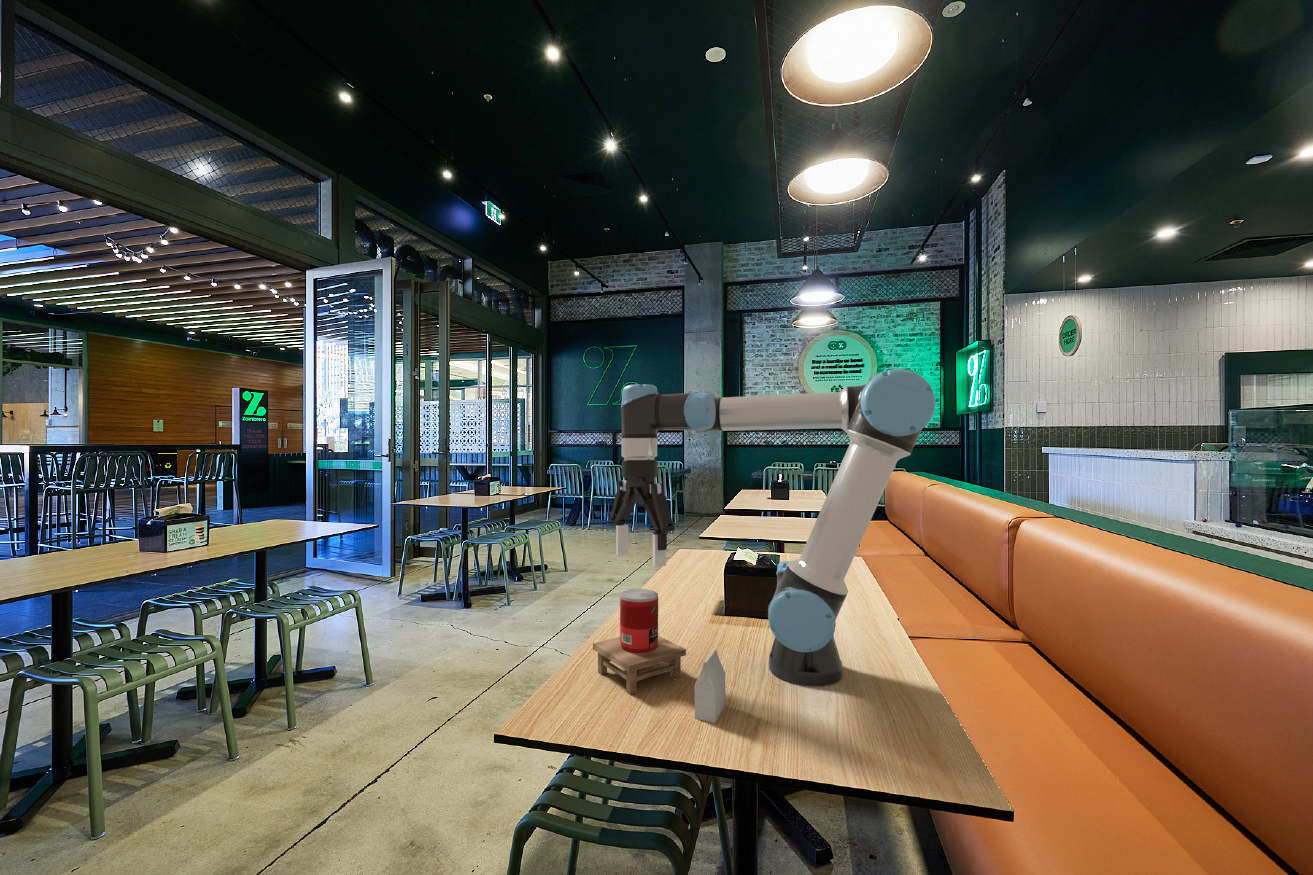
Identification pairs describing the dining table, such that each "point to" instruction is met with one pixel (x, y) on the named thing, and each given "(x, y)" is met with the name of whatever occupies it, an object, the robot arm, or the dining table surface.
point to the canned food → (639, 620)
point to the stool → (638, 660)
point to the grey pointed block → (710, 690)
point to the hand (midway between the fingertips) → (639, 560)
